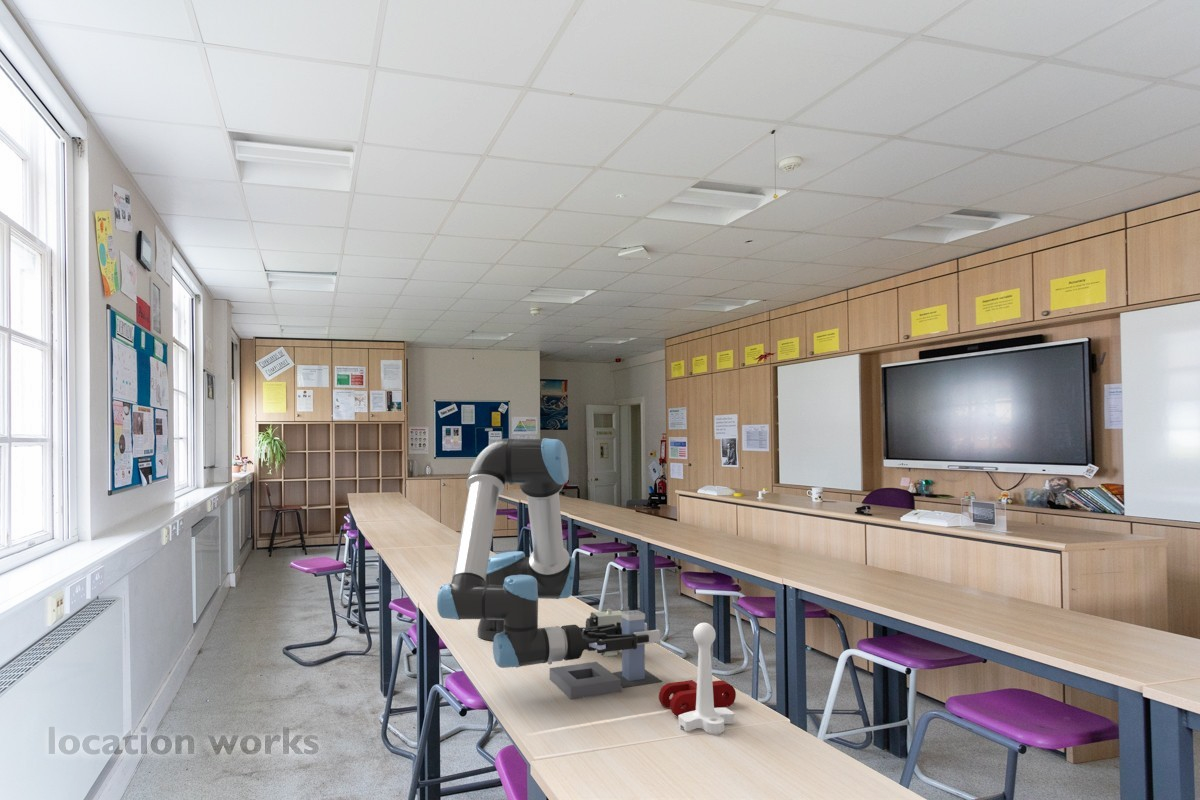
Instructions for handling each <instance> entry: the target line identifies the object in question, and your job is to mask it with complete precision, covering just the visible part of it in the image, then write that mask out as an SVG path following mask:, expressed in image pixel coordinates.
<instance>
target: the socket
mask: <svg viewBox="0 0 1200 800" xmlns="http://www.w3.org/2000/svg"><path fill="white" fill-rule="evenodd" d="M549 681H550V682H551V683H553V684H554V685H555V686H556V687H557V688H558V689H559V691H561V692H562V693H563V694H564V695H565V696H566V697H567V698H569V700H577V699H583V698H589V697H597V696H603V695H609V694H615V693H620V692H622V687H621V679H619V678H618V677H617V676H615V675H614V674H613V672H611V671H610V670H608V668H606V667H604V666H603V665H602V664H600V663H599V662H597V661H591V662H585V663H577V664H570V665H562V666H555V667H549Z"/></svg>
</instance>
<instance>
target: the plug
mask: <svg viewBox="0 0 1200 800" xmlns="http://www.w3.org/2000/svg"><path fill="white" fill-rule="evenodd" d="M621 617H622V634H634V632H642V631H645V623H646V621H645V620H646V613H644V612H643V611H640V610H638V609H634V610H633V609H632V610H626V611H624V610H623V612H621ZM645 645H646V644H640V645H637V648H636V649H627V650H621V657H622V658H621V671H622V676H623V677H625V678H626V679H627V680H629V681H632V680H639V679H645V670H646V668H645V667H646V665H645V664H646V663H645V657H646V656H645V651H646V650H645V648H646V647H645Z"/></svg>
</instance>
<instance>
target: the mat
mask: <svg viewBox="0 0 1200 800" xmlns="http://www.w3.org/2000/svg"><path fill="white" fill-rule="evenodd" d="M612 673H613V674H614V675H615V676H617V677H618V678H619V679H621V688H622V689H625V688H626V689H627V688H631V687H638V686H644V685H645V686H646V685H651V684H658V683H662V682H663V680H662V679H660V678H659V677H657V676H655V675H654V674H653V673H651V672H649V671H648V670H646V669H645V679H639V680H632V681H629V680H627V679H626V678H625V677H623V676H622V670H621V671H614V672H612Z"/></svg>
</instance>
